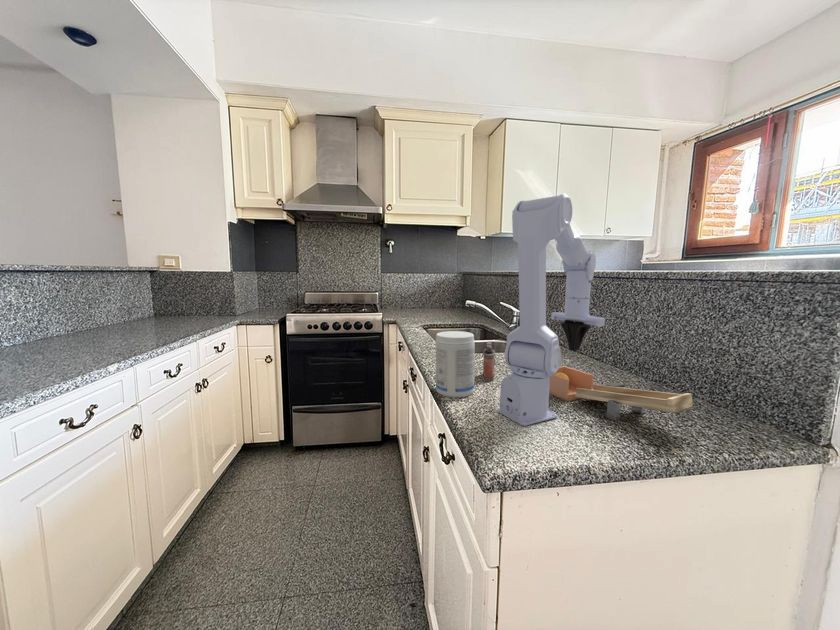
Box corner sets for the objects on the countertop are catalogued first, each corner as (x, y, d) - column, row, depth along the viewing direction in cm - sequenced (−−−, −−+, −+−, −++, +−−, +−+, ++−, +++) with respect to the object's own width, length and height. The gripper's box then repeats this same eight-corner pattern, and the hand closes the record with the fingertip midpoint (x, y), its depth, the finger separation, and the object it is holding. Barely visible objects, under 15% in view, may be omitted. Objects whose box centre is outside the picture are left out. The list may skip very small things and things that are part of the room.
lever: (673, 412, 56) (672, 399, 57) (575, 396, 74) (574, 386, 75) (711, 400, 62) (710, 388, 62) (611, 388, 80) (610, 379, 80)
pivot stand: (616, 421, 64) (617, 404, 64) (606, 417, 66) (607, 400, 66) (644, 412, 68) (646, 396, 68) (634, 409, 70) (636, 393, 70)
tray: (568, 401, 74) (569, 380, 74) (537, 389, 83) (538, 370, 82) (594, 395, 78) (596, 375, 78) (563, 384, 87) (564, 366, 86)
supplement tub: (474, 386, 84) (475, 331, 82) (473, 400, 75) (475, 338, 73) (437, 384, 86) (438, 330, 84) (432, 397, 77) (433, 336, 75)
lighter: (494, 382, 88) (495, 346, 87) (482, 381, 89) (483, 345, 88) (494, 373, 96) (495, 340, 95) (482, 372, 97) (483, 340, 95)
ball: (562, 390, 79) (560, 373, 79) (549, 389, 83) (547, 373, 83) (573, 388, 81) (571, 371, 81) (560, 386, 84) (558, 371, 85)
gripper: (614, 299, 78) (610, 354, 79) (565, 296, 91) (562, 343, 93) (595, 300, 75) (591, 357, 76) (546, 296, 88) (544, 345, 90)
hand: (574, 349), depth 84 cm, fingers closed
